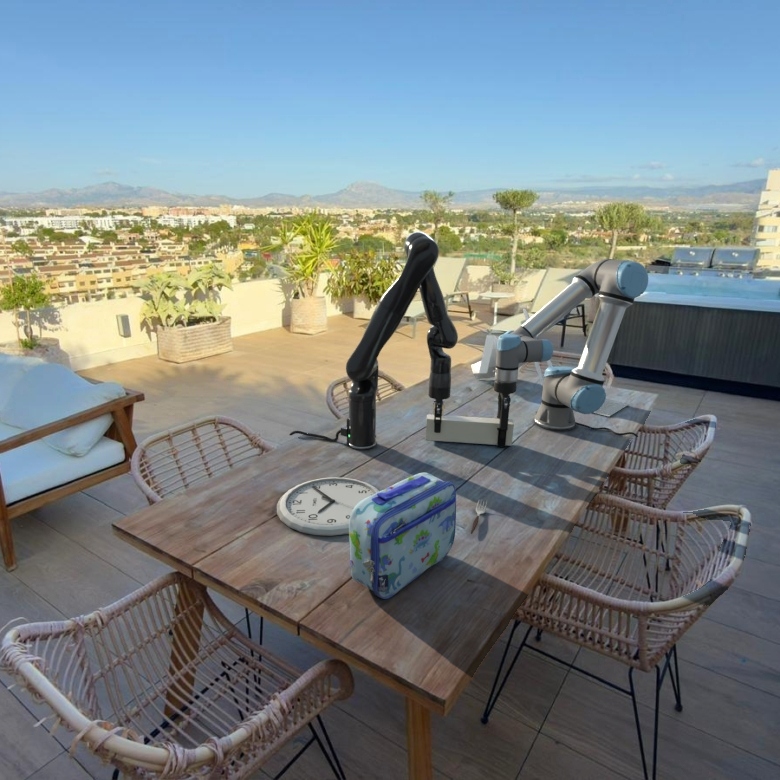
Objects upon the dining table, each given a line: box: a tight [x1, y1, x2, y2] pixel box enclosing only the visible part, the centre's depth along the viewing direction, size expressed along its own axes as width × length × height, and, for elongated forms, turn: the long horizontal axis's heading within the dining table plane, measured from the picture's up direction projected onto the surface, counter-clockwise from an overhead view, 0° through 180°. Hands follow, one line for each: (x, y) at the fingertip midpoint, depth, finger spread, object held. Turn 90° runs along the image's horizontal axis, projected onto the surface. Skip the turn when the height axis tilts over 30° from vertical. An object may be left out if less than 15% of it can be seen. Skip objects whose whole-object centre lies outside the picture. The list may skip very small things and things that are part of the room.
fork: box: [470, 498, 488, 535], centre depth 136 cm, size 3×16×2 cm, turn 160°
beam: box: [425, 413, 515, 447], centre depth 185 cm, size 30×5×8 cm, turn 83°
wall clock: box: [276, 476, 381, 537], centre depth 142 cm, size 30×2×30 cm
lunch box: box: [348, 471, 457, 600], centre depth 113 cm, size 26×11×21 cm, turn 134°
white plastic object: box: [470, 308, 554, 388], centre depth 255 cm, size 37×45×31 cm
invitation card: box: [592, 399, 629, 418], centre depth 226 cm, size 21×1×15 cm
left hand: (437, 429), depth 186 cm, fingers closed on beam, 5 cm apart
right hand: (500, 443), depth 185 cm, fingers closed on beam, 5 cm apart
